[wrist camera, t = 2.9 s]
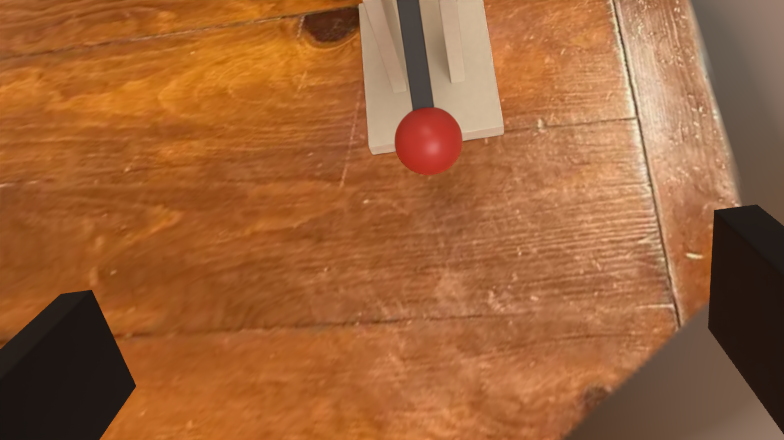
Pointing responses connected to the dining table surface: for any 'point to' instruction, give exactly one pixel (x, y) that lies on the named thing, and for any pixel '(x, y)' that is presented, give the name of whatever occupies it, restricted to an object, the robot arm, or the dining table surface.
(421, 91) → the switch lever
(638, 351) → the dining table surface
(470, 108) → the switch bracket
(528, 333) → the dining table surface
